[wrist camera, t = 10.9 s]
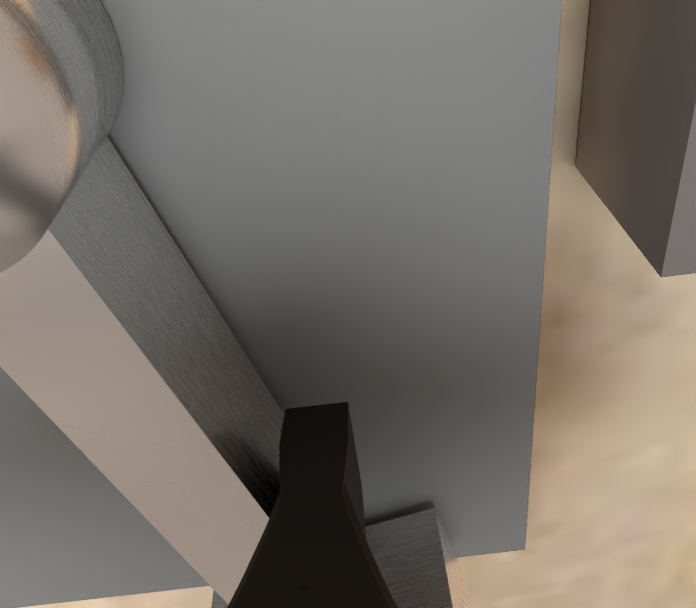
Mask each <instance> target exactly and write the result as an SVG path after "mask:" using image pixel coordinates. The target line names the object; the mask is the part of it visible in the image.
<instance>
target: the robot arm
mask: <svg viewBox="0 0 696 608" xmlns="http://www.w3.org/2000/svg"><path fill="white" fill-rule="evenodd" d="M279 476H280V493H279V495H278V498H277V500H276V503H275V505H274V508H273V510H272V513H271V515H270V518H269V520H268V523H267V525H266V527H265V530H264V532H263V534H262V536H261V539H260V541H259V543H258V545H257V547H256V549H255V551H254V554H253V556H252V558H251V560H250V562H249V564H248V567H247V569H246V571H245V573H244V575H243V577H242V579H241V581H240V583H239V585H238V587H237V589H236V591H235V593H234V595H233V597H232V599H231V601H230V603H229V605H228V607H227V608H398V607H397V605H396V603H395V601H394V599H393V597H392V595H391V593H390V591H389V589H388V587H387V585H386V583H385V580H384V578H383V576H382V574H381V572H380V570H379V568H378V565H377V563H376V561H375V558H374V556H373V554H372V552H371V549H370V547H369V545H368V543H367V540H366V530H365V518H364V506H363V495H362V484H361V478H360V472H359V466H358V459H357V453H356V447H355V441H354V435H353V429H352V423H351V417H350V411H349V405H348V402H341V403H332V404H323V405H315V406H306V407H297V408H288V409H285V414H284V419H283V424H282V430H281V437H280V443H279Z"/></svg>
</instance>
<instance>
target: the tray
mask: <svg viewBox="0 0 696 608" xmlns="http://www.w3.org/2000/svg"><path fill="white" fill-rule="evenodd" d="M576 168H577V169H578V171H579V172H580V173H581V174H582V176H583V177H584V178H585V180H586V181H587V182H588V183H589V185H590V186H591V187H592V189H593V190H594V191H595V193H596V194H597V195H598V196H599V198H600V199H601V200H602V202H603V203H604V204H605V205H606V207H607V208H608V209H609V211H610V212H611V213H612V215H613V216H614V217H615V218H616V220H617V221H618V222H619V224H620V225H621V226H622V227H623V229H624V230H625V231H626V233H627V234H628V235H629V237H630V238H631V239H632V240H633V242H634V243H635V244H636V246H637V247H638V248H639V249H640V251H641V252H642V253H643V255H644V256H645V257H646V258H647V260H648V261H649V262H650V264H651V265H652V266H653V268H654V269H655V270H656V271H657V273H658V274H659V275H660V277H667V276H675V275H683V274H691V273H696V0H591V4H590V15H589V26H588V37H587V48H586V58H585V69H584V80H583V91H582V102H581V113H580V124H579V135H578V146H577V156H576Z"/></svg>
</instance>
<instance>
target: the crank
mask: <svg viewBox="0 0 696 608" xmlns="http://www.w3.org/2000/svg"><path fill="white" fill-rule="evenodd" d="M122 93H123V67H122V58H121V53H120V49H119V45H118V41H117V38H116V35H115V32H114V29H113V27H112V24H111V21H110V19H109V17H108V15H107V13H106V11H105V9H104V7H103V5H102V3H101V2H100V0H0V367H1V368H2V369H3V370H4V371H5V372H6V373H7V374H8V375H9V376H10V377H11V378H12V379H13V380H14V381H15V382H16V384H17V385H18V386H19V387H20V388H21V389H22V390H23V391H24V392H25V393H26V394H27V395H28V396H29V397H30V398H31V399H32V400H33V401H34V402H35V403H36V404H37V405H38V406H39V408H40V409H41V410H42V411H43V412H44V413H45V414H46V415H47V416H48V417H49V418H50V419H51V420H52V421H53V422H54V423H55V424H56V425H57V426H58V427H59V428H60V429H61V430H62V432H63V433H64V434H65V435H66V436H67V437H68V438H69V439H70V440H71V441H72V442H73V443H74V444H75V445H76V446H77V447H78V448H79V449H80V450H81V451H82V452H83V453H84V454H85V456H86V457H87V458H88V459H89V460H90V461H91V462H92V463H93V464H94V465H95V466H96V467H97V468H98V469H99V470H100V471H101V472H102V473H103V474H104V475H105V476H106V477H107V478H108V480H109V481H110V482H111V483H112V484H113V485H114V486H115V487H116V488H117V489H118V490H119V491H120V492H121V493H122V494H123V495H124V496H125V497H126V498H127V499H128V500H129V501H130V502H131V504H132V505H133V506H134V507H135V508H136V509H137V510H138V511H139V512H140V513H141V514H142V515H143V516H144V517H145V518H146V519H147V520H148V521H149V522H150V523H151V524H152V525H153V526H154V528H155V529H156V530H157V531H158V532H159V533H160V534H161V535H162V536H163V537H164V538H165V539H166V540H167V541H168V542H169V543H170V544H171V545H172V546H173V547H174V548H175V549H176V550H177V552H178V553H179V554H180V555H181V556H182V557H183V558H184V559H185V560H186V561H187V562H188V563H189V564H190V565H191V566H192V567H193V568H194V569H195V570H196V571H197V572H198V573H199V574H200V576H201V577H202V578H203V579H204V580H205V581H206V582H207V583H208V584H209V585H210V586H211V587H212V588H213V589H214V593H213V601H212V608H227V607H228V605H229V603H230V601H231V599H232V597H233V595H234V593H235V591H236V589H237V587H238V585H239V583H240V581H241V579H242V577H243V575H244V573H245V571H246V569H247V567H248V564H249V562H250V560H251V558H252V556H253V554H254V551H255V549H256V547H257V545H258V543H259V541H260V539H261V536H262V534H263V532H264V530H265V527H266V525H267V523H268V520H269V518H270V515H271V513H272V510H273V508H274V505H275V503H276V500H277V498H278V495H279V493H280V476H279V443H280V437H281V430H282V424H283V419H284V413H283V411H282V410H281V408H280V407H279V405H278V404H277V402H276V400H275V399H274V397H273V396H272V394H271V393H270V391H269V389H268V388H267V386H266V385H265V383H264V382H263V380H262V378H261V377H260V375H259V374H258V372H257V371H256V369H255V367H254V366H253V364H252V363H251V361H250V360H249V358H248V356H247V355H246V353H245V352H244V350H243V349H242V347H241V346H240V344H239V342H238V341H237V339H236V338H235V336H234V335H233V333H232V331H231V330H230V328H229V327H228V325H227V324H226V322H225V320H224V319H223V317H222V316H221V314H220V313H219V311H218V309H217V308H216V306H215V305H214V303H213V302H212V300H211V299H210V297H209V295H208V294H207V292H206V291H205V289H204V288H203V286H202V284H201V283H200V281H199V280H198V278H197V277H196V275H195V273H194V272H193V270H192V269H191V267H190V266H189V264H188V262H187V261H186V259H185V258H184V256H183V255H182V253H181V251H180V250H179V248H178V247H177V245H176V244H175V242H174V241H173V239H172V237H171V236H170V234H169V233H168V231H167V230H166V228H165V226H164V225H163V223H162V222H161V220H160V219H159V217H158V215H157V214H156V212H155V211H154V209H153V208H152V206H151V204H150V203H149V201H148V200H147V198H146V197H145V195H144V193H143V192H142V190H141V189H140V187H139V186H138V184H137V183H136V181H135V179H134V178H133V176H132V175H131V173H130V172H129V170H128V168H127V167H126V165H125V164H124V162H123V161H122V159H121V157H120V156H119V154H118V153H117V151H116V150H115V148H114V146H113V145H112V143H111V142H110V140H109V139H108V137H107V136H108V134H109V132H110V130H111V129H112V127H113V125H114V123H115V121H116V118H117V115H118V112H119V109H120V105H121V99H122ZM365 530H366V540H367V543H368V545H369V547H370V549H371V552H372V554H373V556H374V558H375V561H376V563H377V565H378V568H379V570H380V572H381V574H382V576H383V578H384V580H385V583H386V585H387V587H388V589H389V591H390V593H391V595H392V597H393V599H394V601H395V603H396V605H397V607H398V608H467V606H466V601H465V596H464V591H463V586H462V581H461V576H460V571H459V566H458V561H457V556H456V551H455V548H454V546H453V544H452V542H451V540H450V538H449V536H448V534H447V532H446V530H445V528H444V526H443V524H442V522H441V520H440V518H439V516H438V514H437V512H436V510H435V508H432V509H428V510H424V511H421V512H417V513H413V514H410V515H406V516H402V517H399V518H395V519H391V520H388V521H384V522H380V523H376V524H373V525H369V526H365Z"/></svg>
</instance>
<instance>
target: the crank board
mask: <svg viewBox="0 0 696 608" xmlns="http://www.w3.org/2000/svg"><path fill="white" fill-rule="evenodd" d="M100 2H101V3H102V5H103V7H104V9H105V11H106V13H107V15H108V17H109V19H110V21H111V24H112V27H113V29H114V32H115V35H116V38H117V41H118V45H119V49H120V53H121V58H122V67H123V93H122V99H121V105H120V109H119V112H118V115H117V118H116V121H115V123H114V125H113V127H112V129H111V130H110V132H109V134H108V136H107V137H108V139H109V140H110V142H111V143H112V145H113V146H114V148H115V150H116V151H117V153H118V154H119V156H120V157H121V159H122V161H123V162H124V164H125V165H126V167H127V168H128V170H129V172H130V173H131V175H132V176H133V178H134V179H135V181H136V183H137V184H138V186H139V187H140V189H141V190H142V192H143V193H144V195H145V197H146V198H147V200H148V201H149V203H150V204H151V206H152V208H153V209H154V211H155V212H156V214H157V215H158V217H159V219H160V220H161V222H162V223H163V225H164V226H165V228H166V230H167V231H168V233H169V234H170V236H171V237H172V239H173V241H174V242H175V244H176V245H177V247H178V248H179V250H180V251H181V253H182V255H183V256H184V258H185V259H186V261H187V262H188V264H189V266H190V267H191V269H192V270H193V272H194V273H195V275H196V277H197V278H198V280H199V281H200V283H201V284H202V286H203V288H204V289H205V291H206V292H207V294H208V295H209V297H210V299H211V300H212V302H213V303H214V305H215V306H216V308H217V309H218V311H219V313H220V314H221V316H222V317H223V319H224V320H225V322H226V324H227V325H228V327H229V328H230V330H231V331H232V333H233V335H234V336H235V338H236V339H237V341H238V342H239V344H240V346H241V347H242V349H243V350H244V352H245V353H246V355H247V356H248V358H249V360H250V361H251V363H252V364H253V366H254V367H255V369H256V371H257V372H258V374H259V375H260V377H261V378H262V380H263V382H264V383H265V385H266V386H267V388H268V389H269V391H270V393H271V394H272V396H273V397H274V399H275V400H276V402H277V404H278V405H279V407H280V408H281V410H282V411H283V413H284V414H285V409H288V408H297V407H306V406H315V405H323V404H332V403H341V402H348V405H349V411H350V417H351V423H352V429H353V435H354V441H355V447H356V453H357V459H358V466H359V472H360V478H361V484H362V495H363V506H364V518H365V526H369V525H373V524H376V523H380V522H384V521H388V520H391V519H395V518H399V517H402V516H406V515H410V514H413V513H417V512H421V511H424V510H428V509H432V508H435V510H436V512H437V514H438V516H439V518H440V520H441V522H442V524H443V526H444V528H445V530H446V532H447V534H448V536H449V538H450V540H451V542H452V544H453V546H454V548H455V551H456V556H457V557H464V556H473V555H481V554H490V553H499V552H508V551H516V550H525V541H526V526H527V511H528V496H529V482H530V467H531V452H532V437H533V422H534V407H535V392H536V378H537V363H538V348H539V333H540V318H541V303H542V288H543V274H544V259H545V244H546V229H547V214H548V199H549V184H550V170H551V155H552V140H553V125H554V110H555V95H556V81H557V66H558V51H559V36H560V21H561V6H562V0H100ZM201 586H210V585H209V584H208V583H207V582H206V581H205V580H204V579H203V578H202V577H201V576H200V574H199V573H198V572H197V571H196V570H195V569H194V568H193V567H192V566H191V565H190V564H189V563H188V562H187V561H186V560H185V559H184V558H183V557H182V556H181V555H180V554H179V553H178V552H177V550H176V549H175V548H174V547H173V546H172V545H171V544H170V543H169V542H168V541H167V540H166V539H165V538H164V537H163V536H162V535H161V534H160V533H159V532H158V531H157V530H156V529H155V528H154V526H153V525H152V524H151V523H150V522H149V521H148V520H147V519H146V518H145V517H144V516H143V515H142V514H141V513H140V512H139V511H138V510H137V509H136V508H135V507H134V506H133V505H132V504H131V502H130V501H129V500H128V499H127V498H126V497H125V496H124V495H123V494H122V493H121V492H120V491H119V490H118V489H117V488H116V487H115V486H114V485H113V484H112V483H111V482H110V481H109V480H108V478H107V477H106V476H105V475H104V474H103V473H102V472H101V471H100V470H99V469H98V468H97V467H96V466H95V465H94V464H93V463H92V462H91V461H90V460H89V459H88V458H87V457H86V456H85V454H84V453H83V452H82V451H81V450H80V449H79V448H78V447H77V446H76V445H75V444H74V443H73V442H72V441H71V440H70V439H69V438H68V437H67V436H66V435H65V434H64V433H63V432H62V430H61V429H60V428H59V427H58V426H57V425H56V424H55V423H54V422H53V421H52V420H51V419H50V418H49V417H48V416H47V415H46V414H45V413H44V412H43V411H42V410H41V409H40V408H39V406H38V405H37V404H36V403H35V402H34V401H33V400H32V399H31V398H30V397H29V396H28V395H27V394H26V393H25V392H24V391H23V390H22V389H21V388H20V387H19V386H18V385H17V384H16V382H15V381H14V380H13V379H12V378H11V377H10V376H9V375H8V374H7V373H6V372H5V371H4V370H3V369H2V368H1V367H0V608H17V607H26V606H35V605H44V604H52V603H61V602H70V601H79V600H88V599H96V598H105V597H114V596H123V595H131V594H140V593H149V592H158V591H166V590H175V589H184V588H193V587H201Z"/></svg>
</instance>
